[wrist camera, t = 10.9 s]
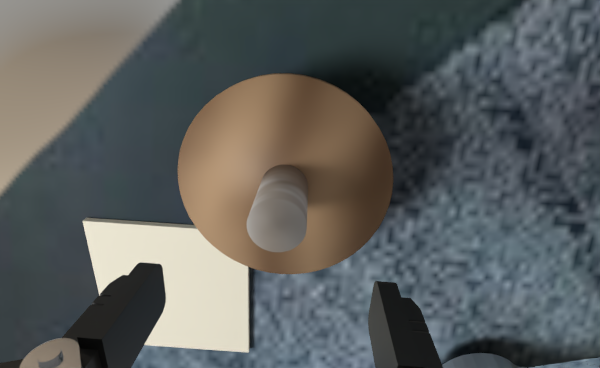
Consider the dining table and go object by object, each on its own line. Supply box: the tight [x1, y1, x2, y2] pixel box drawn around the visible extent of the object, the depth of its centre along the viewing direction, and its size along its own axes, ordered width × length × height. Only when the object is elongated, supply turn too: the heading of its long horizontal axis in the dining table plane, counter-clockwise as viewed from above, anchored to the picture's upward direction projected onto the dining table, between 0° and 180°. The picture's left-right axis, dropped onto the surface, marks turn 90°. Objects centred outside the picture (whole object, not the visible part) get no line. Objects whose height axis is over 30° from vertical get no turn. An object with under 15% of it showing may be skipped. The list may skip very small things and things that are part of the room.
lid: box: [178, 73, 393, 274], centre depth 20 cm, size 14×14×6 cm
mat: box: [83, 218, 250, 352], centre depth 34 cm, size 15×15×1 cm
